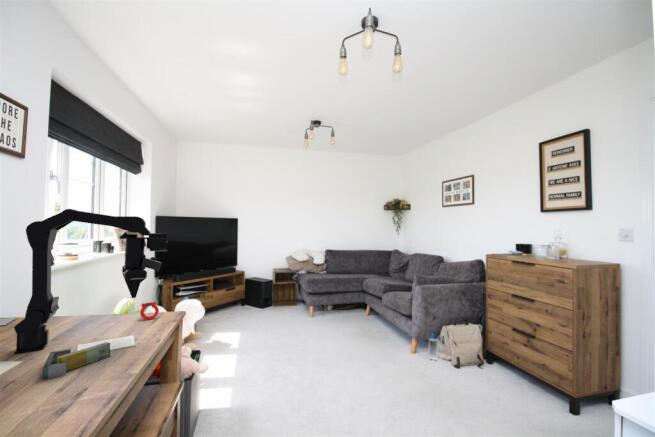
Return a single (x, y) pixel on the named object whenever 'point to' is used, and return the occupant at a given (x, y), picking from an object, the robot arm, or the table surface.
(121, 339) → the felt pad
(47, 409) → the table surface
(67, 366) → the medication box
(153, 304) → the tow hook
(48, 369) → the cradle stand
